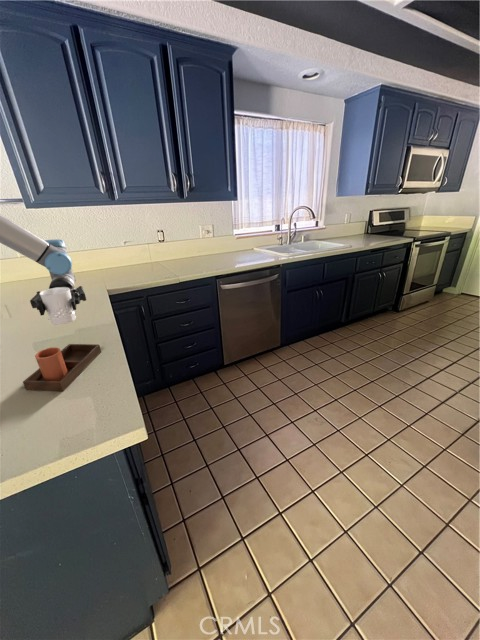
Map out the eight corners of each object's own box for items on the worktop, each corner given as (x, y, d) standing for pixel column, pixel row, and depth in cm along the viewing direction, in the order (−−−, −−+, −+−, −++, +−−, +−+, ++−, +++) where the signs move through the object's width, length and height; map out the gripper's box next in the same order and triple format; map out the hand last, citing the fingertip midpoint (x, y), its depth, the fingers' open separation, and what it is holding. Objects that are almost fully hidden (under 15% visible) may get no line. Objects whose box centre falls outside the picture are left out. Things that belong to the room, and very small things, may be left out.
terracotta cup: (40, 385, 74) (29, 358, 70) (54, 372, 80) (45, 347, 76) (60, 385, 74) (50, 358, 70) (73, 373, 79) (64, 347, 76)
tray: (26, 390, 72) (22, 381, 71) (71, 351, 91) (69, 343, 89) (63, 391, 72) (60, 382, 71) (101, 352, 90) (99, 344, 89)
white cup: (81, 314, 89) (73, 286, 85) (72, 324, 82) (63, 294, 78) (56, 316, 88) (46, 287, 84) (44, 326, 81) (33, 296, 77)
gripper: (95, 292, 103) (98, 313, 85) (31, 301, 94) (19, 327, 76) (91, 274, 100) (92, 291, 82) (24, 281, 91) (9, 302, 73)
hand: (57, 308), depth 79 cm, fingers closed on white cup, 8 cm apart
